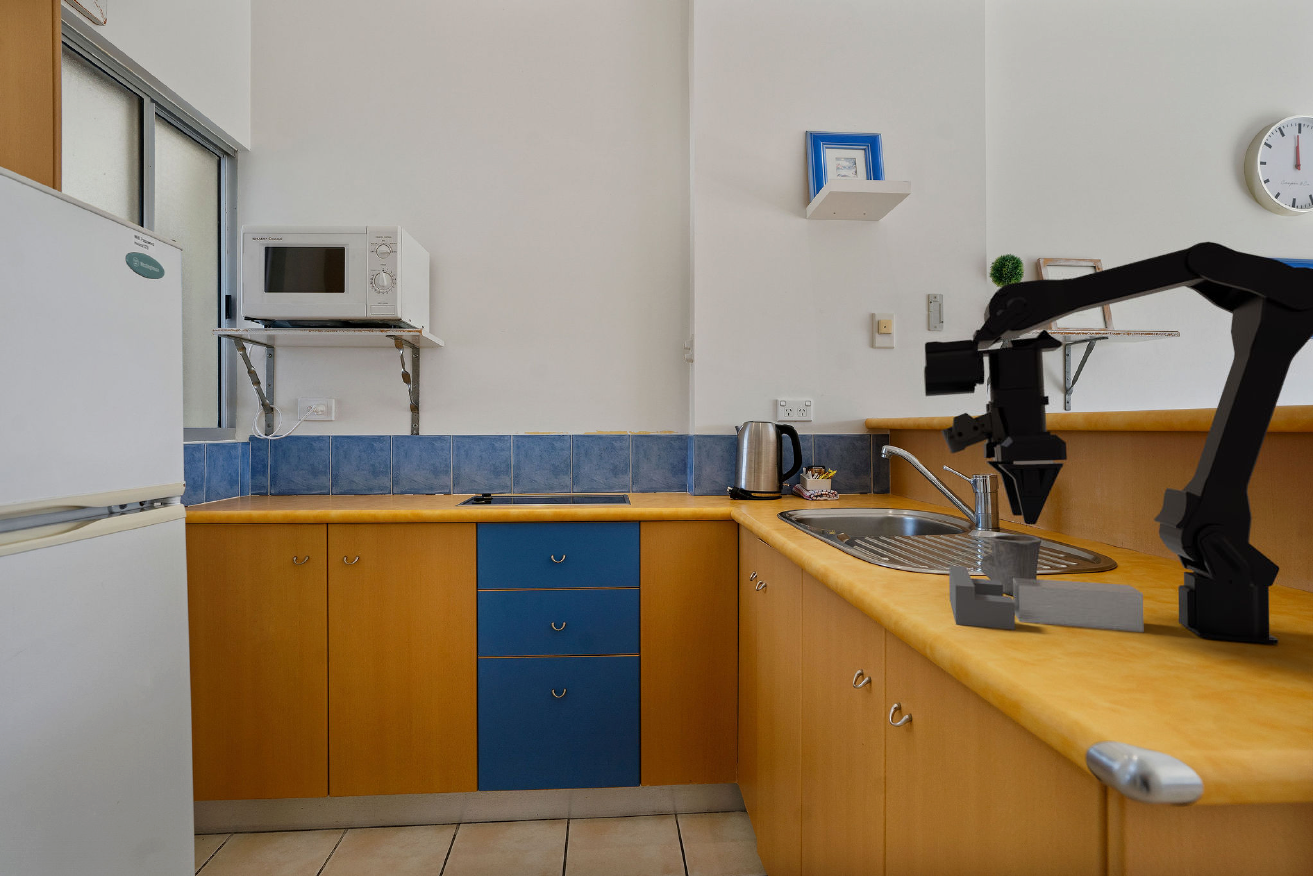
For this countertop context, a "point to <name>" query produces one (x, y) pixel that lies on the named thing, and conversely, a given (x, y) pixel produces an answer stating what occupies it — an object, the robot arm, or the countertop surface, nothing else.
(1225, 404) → the robot arm
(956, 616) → the grey u-shaped block
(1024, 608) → the long gray post
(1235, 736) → the countertop surface
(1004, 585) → the grey tapered cup
